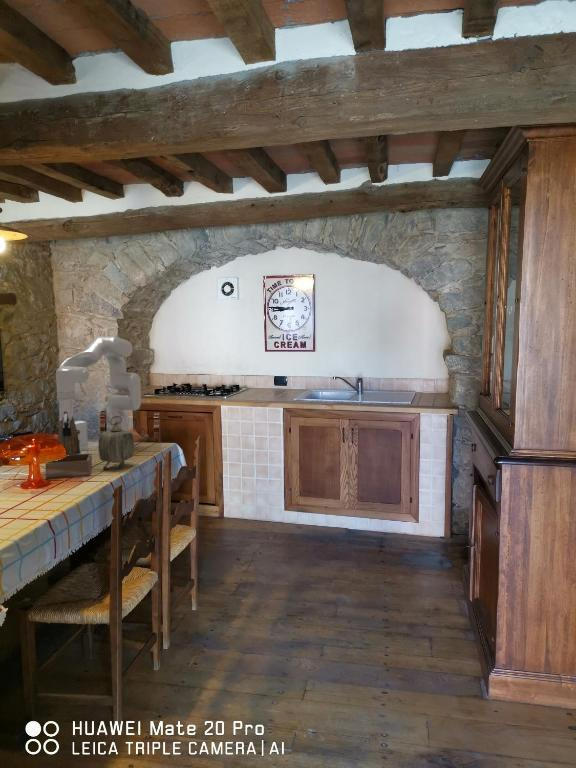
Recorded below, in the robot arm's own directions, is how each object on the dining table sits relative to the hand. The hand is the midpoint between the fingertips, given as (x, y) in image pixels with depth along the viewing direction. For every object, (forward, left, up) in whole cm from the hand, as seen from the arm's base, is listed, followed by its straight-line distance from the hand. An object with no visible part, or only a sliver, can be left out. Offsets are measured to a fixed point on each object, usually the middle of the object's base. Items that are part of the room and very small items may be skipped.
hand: (68, 434), depth 237 cm
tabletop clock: (-4, +21, -18) cm, 28 cm away
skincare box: (-47, -1, -18) cm, 51 cm away
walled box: (0, 0, -18) cm, 18 cm away
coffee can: (-29, -3, -18) cm, 34 cm away
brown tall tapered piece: (0, 0, -9) cm, 9 cm away
